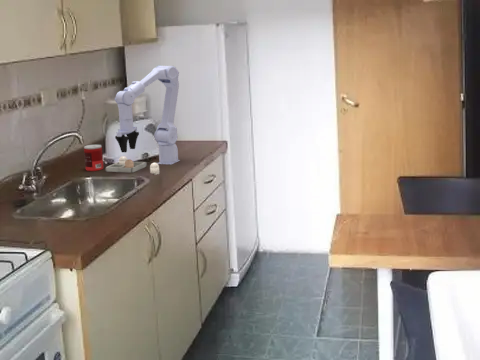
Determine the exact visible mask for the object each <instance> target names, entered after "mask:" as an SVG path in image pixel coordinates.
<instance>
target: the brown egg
mask: <svg viewBox="0 0 480 360" xmlns="http://www.w3.org/2000/svg"><path fill="white" fill-rule="evenodd" d="M127 159H128V160H126V161H125V168H133V167H134V163H133V162H134V161H133V160H132V159H131V158H130V159H129V158H127Z"/></svg>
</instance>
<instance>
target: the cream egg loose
mask: <svg viewBox="0 0 480 360" xmlns="http://www.w3.org/2000/svg"><path fill="white" fill-rule="evenodd" d="M157 163H158V162H152V163H151V164H150V165H149V172H150V174H152V175H153V176H156V175H160V164H157Z"/></svg>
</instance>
